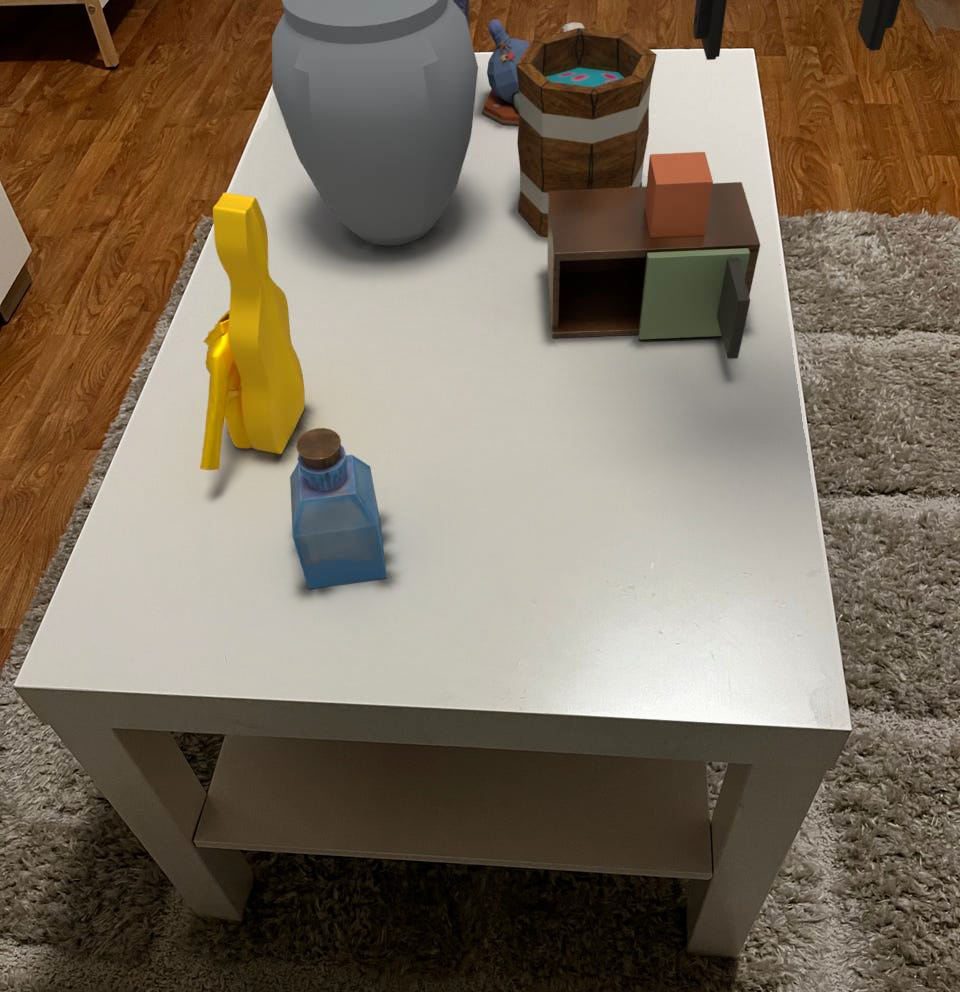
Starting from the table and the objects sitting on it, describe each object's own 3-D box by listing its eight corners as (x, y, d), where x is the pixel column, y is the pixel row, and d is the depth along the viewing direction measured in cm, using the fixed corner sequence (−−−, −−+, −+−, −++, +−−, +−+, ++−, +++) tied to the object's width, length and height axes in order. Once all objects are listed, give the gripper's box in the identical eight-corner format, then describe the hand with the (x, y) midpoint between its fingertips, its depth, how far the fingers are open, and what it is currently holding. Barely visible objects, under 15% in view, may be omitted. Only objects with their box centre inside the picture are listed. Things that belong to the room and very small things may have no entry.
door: (731, 330, 92) (748, 247, 84) (743, 377, 88) (762, 295, 81) (638, 334, 92) (647, 252, 85) (646, 381, 88) (656, 300, 81)
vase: (295, 285, 99) (236, 24, 79) (311, 181, 110) (263, -70, 90) (486, 276, 99) (475, 11, 79) (482, 172, 110) (472, -82, 90)
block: (697, 205, 88) (705, 151, 84) (704, 235, 86) (713, 181, 82) (644, 207, 89) (649, 154, 84) (650, 238, 86) (656, 184, 82)
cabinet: (726, 267, 98) (741, 181, 90) (742, 330, 92) (760, 244, 85) (547, 275, 98) (548, 190, 91) (552, 338, 92) (554, 253, 85)
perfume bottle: (380, 520, 80) (359, 408, 70) (386, 578, 76) (365, 468, 67) (305, 530, 80) (273, 419, 70) (308, 589, 76) (275, 480, 66)
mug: (652, 238, 101) (668, 89, 89) (522, 248, 101) (521, 99, 89) (625, 141, 112) (637, -4, 100) (509, 149, 112) (506, 6, 100)
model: (476, 122, 116) (472, 39, 109) (493, 85, 121) (491, 3, 114) (575, 130, 114) (578, 45, 107) (588, 91, 119) (592, 8, 112)
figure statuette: (266, 362, 92) (202, 129, 74) (344, 372, 91) (298, 138, 73) (192, 496, 83) (97, 265, 65) (278, 509, 81) (206, 278, 63)
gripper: (1023, -376, 48) (916, 11, 61) (668, -348, 49) (641, 27, 62) (1076, -343, 43) (948, 66, 57) (685, -313, 44) (652, 82, 58)
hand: (788, 45), depth 60 cm, fingers open, 9 cm apart
